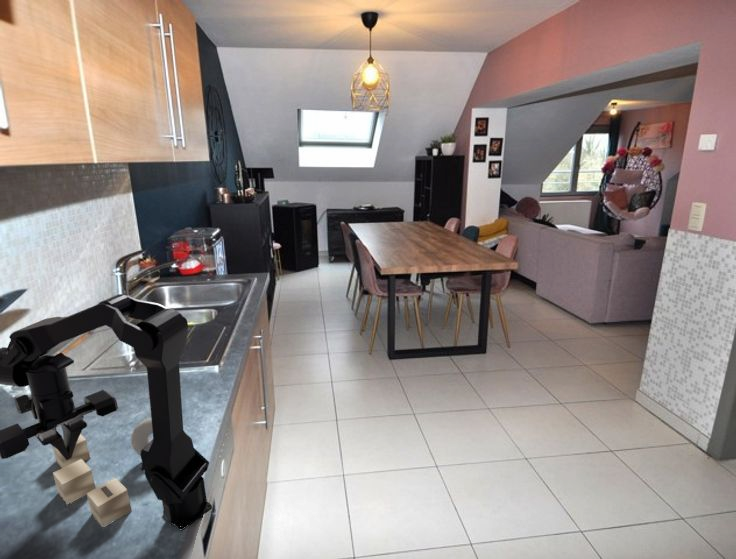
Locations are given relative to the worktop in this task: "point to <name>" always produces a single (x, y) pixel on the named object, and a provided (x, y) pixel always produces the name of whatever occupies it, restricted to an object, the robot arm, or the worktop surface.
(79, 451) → the two stroke block
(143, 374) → the worktop surface
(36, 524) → the worktop surface
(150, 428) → the donut
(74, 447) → the robot arm
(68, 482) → the plain block
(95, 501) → the one stroke block
